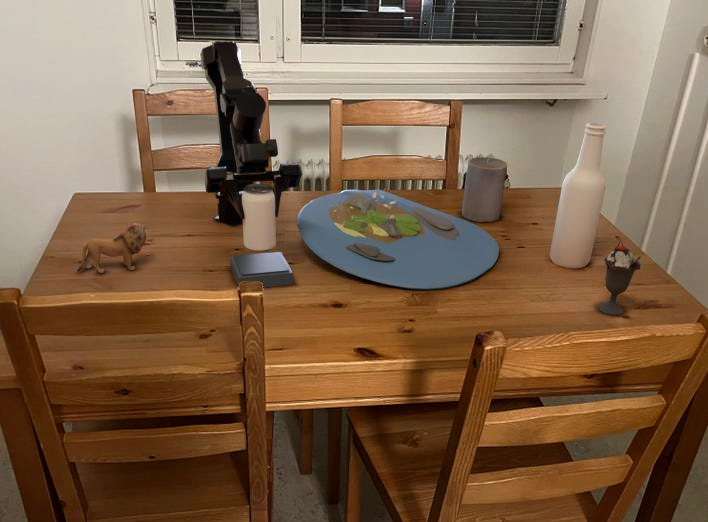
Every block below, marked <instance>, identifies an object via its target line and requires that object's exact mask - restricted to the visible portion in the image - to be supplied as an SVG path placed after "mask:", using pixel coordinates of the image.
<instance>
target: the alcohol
mask: <svg viewBox="0 0 708 522" xmlns="http://www.w3.org/2000/svg"><path fill="white" fill-rule="evenodd" d="M606 129H607V126H606V124H604V123H602V122H597V121H595V122H594V121H591V122H587V123H586V124H585V129H584V135H583V139H582V143H581V146H580V150H579V154H578V157H577V160H576V164H575V166H574V168H572V169H571V170H570V171H569V172H568V173H566V175H565V177H564V179H563V182H562V185H561V190H560V196H559V201H558V207H557V211H556V217H555V222H554V228H553V234H552V240H551V244H550V249H549V258H550V261H551V262H552V263H553V264H555V265H557V266H559V267H562V268H566V269H582V268H584V267H586V266H587V265H588V264H589V263H590V261H591V258H592V257H591V256H592V253H593V248H594V244H595V239H596V234H597V230H598V225H599V222H600V221H599V220H600V216H601V211H602V206H603V202H604V199H605V198H604V197H605V193H606V179H605V177H604V174H603V173H602V171H601V160H602V151H603V144H604V136H605V134H606Z"/></svg>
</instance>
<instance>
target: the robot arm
mask: <svg viewBox="0 0 708 522" xmlns="http://www.w3.org/2000/svg"><path fill="white" fill-rule="evenodd" d="M241 58H242V57H241V48H240V47H239V46H238V45H237V42H236V41H233V40H216V41H214V42H212V43H211V44H210V45H208V46H205V47H203V48H202V49H201V52H200V65H201V70H203V71H204V76H205V77H204V78H205V80H206V81H207V82H208V84H209V86H210V87H211V88H212V89H213V96H214V104H215V114H216V115H215V116H216V123H217V131H218V140H219V141H218V143H219V152H220V156H219V157H218V160H217V163H216V165H215V167H214V166H213V167H207V168H206V170H205V175H204V186H205V193H208V194H213V195H214V198H215V200H217V201H218V203H217V215H216V216H214V219H215V220H216V221H218V222H219V221H220V222H222V223H224V224H227V225H230V226H237V225H239V224H241V223H242V224H243V219H244V218H245V216H244V210H243V206H242V194H243V192H244V187H245V186H247V185H250V184H254V183H260V182H261V183H262V182H272V184H273V185H272V188H273V190H272V191H273V193H274V195H275V218H278V216H279V211H280V204H281V200H282V199H281V197H282V193H285V192H286V191H287V190H288V189H292V188H296V187H297V188H298V186H299V184H300V182H301V178H302V176H303V171H302V167H301V165H300V164H299V163H298V162H287V163H280V164H279V167H278V169H277V170H267V168H269V166H270V158H277V156H279V148H278V142H277V139H276V138H270V139H269V138H268V139H266V140H265V142H263V141H262V137H261V132H260V130H261V129H262V126H263V122H264V117H265V112H266V109H267V101H266V100H265V99H264V97H263V96H262V95H261V94H260V93H259V92H257V89H256V87H255V86H254V84H253V83H254V82H252V81H250V80H249V79H247V78H246V77H245V75H244V72H243V69H242V59H241Z"/></svg>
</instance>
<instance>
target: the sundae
mask: <svg viewBox="0 0 708 522" xmlns="http://www.w3.org/2000/svg"><path fill="white" fill-rule="evenodd" d="M614 237H615V238H616V240H618V244H617V245H615V246H614V247H613V251H611V252H609V254H608V256H606V257H605V258H603V261H604V263H605V265H606V271H605V288H606V289H607V291H608V292H609V293H610V298H609V300H608V302H603V303H599V304H598V305H597V309H598V310H599V311H600V312H601V313H603V314H606V315H609V316H620V315H623V314H624V311H625V310H624V309H623V307H622V306H621V305H618V304H617V299H618V296H619V295H621V294H623V293H625V292H626V291H627V290H628V287H629V286H630V283H631V281H632V278H633V276H634V274H635V272H636V271H638V270H640V269H641V263H640V261H639V260H640V259H641V258H642V257H641V256H638V257H637V258H636V259H635V258H634V255H635V254H634V253H633V251H632V250H631V249H629V248H627V247H626V246H625V245H624V244H623V242H622V239H621V238H620V236H619V235H615V236H614ZM620 244H621V246H620Z"/></svg>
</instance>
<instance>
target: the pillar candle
mask: <svg viewBox="0 0 708 522" xmlns="http://www.w3.org/2000/svg"><path fill="white" fill-rule="evenodd" d="M507 171H508V163H507V162H506V161H504V160H502V159H499V158H495V157H489V156H479V157H477V156H476V157H472V158H470V159H468V160H467V168H466V175H465V183H464V193H463V198H462V199H463V200H462V208H461V216H462V217H463V218H464V219H466V220H469V221H472V222H476V223H485V222H487V223H490V222H491V223H492V222H496V221H498V220H499V219H500V218H501V211H502V206H503V198H504V191H505V184H506V177H507Z"/></svg>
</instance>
